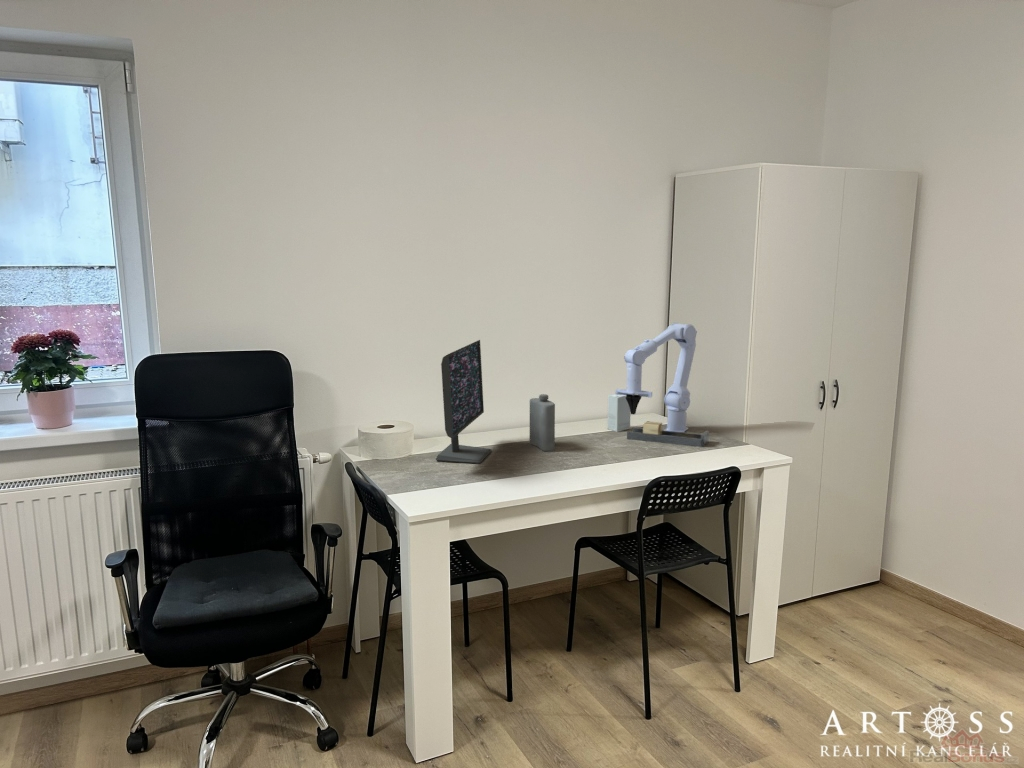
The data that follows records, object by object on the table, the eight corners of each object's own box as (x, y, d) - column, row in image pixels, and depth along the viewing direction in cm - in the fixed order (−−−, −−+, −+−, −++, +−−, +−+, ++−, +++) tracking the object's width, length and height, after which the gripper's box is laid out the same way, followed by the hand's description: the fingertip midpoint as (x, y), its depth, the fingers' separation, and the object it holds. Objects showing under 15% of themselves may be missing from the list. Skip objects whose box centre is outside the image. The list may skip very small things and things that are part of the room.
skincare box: (620, 426, 323) (621, 392, 321) (630, 429, 319) (631, 394, 316) (606, 429, 318) (607, 394, 316) (617, 432, 313) (617, 396, 311)
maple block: (647, 433, 306) (647, 421, 305) (661, 435, 303) (662, 422, 303) (642, 436, 301) (643, 424, 300) (657, 438, 298) (658, 425, 297)
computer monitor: (470, 474, 254) (469, 354, 247) (424, 472, 257) (421, 353, 250) (499, 443, 296) (499, 339, 289) (458, 441, 299) (457, 339, 292)
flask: (558, 450, 285) (559, 397, 281) (544, 452, 282) (545, 398, 279) (541, 441, 298) (541, 391, 295) (527, 443, 296) (527, 392, 292)
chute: (633, 434, 310) (633, 423, 309) (708, 441, 297) (708, 430, 296) (626, 438, 302) (627, 427, 301) (703, 447, 289) (704, 435, 289)
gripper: (613, 380, 301) (612, 414, 304) (649, 382, 295) (648, 417, 297) (618, 377, 308) (618, 410, 310) (654, 380, 301) (653, 413, 304)
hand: (633, 413), depth 304 cm, fingers closed
